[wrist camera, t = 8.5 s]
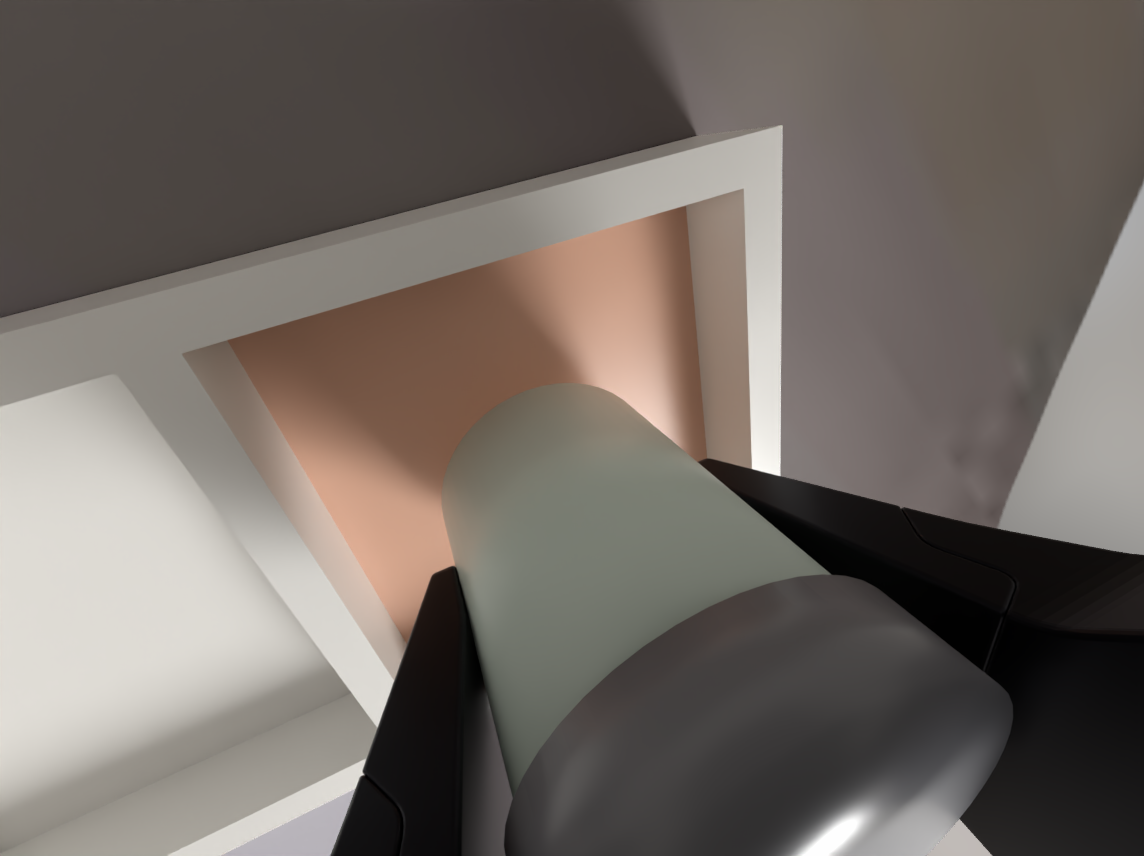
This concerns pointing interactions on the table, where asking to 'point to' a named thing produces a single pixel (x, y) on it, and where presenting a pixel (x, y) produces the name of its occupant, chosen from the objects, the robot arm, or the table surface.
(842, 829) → the grey mushroom
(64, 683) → the sorting tray
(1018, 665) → the robot arm
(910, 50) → the table surface
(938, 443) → the table surface
